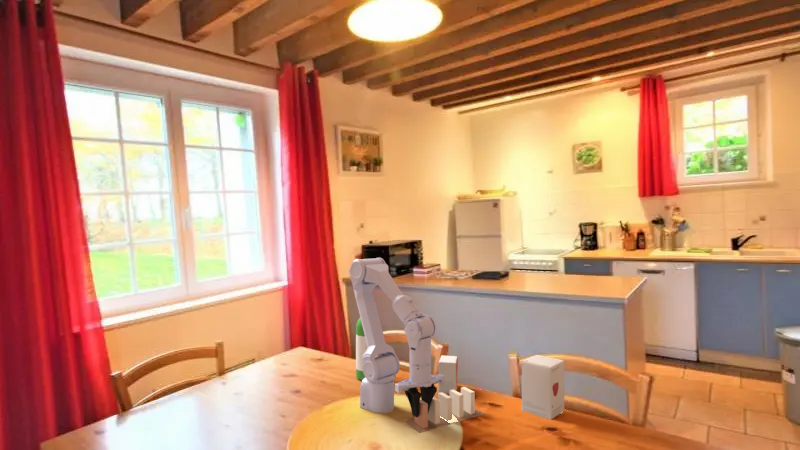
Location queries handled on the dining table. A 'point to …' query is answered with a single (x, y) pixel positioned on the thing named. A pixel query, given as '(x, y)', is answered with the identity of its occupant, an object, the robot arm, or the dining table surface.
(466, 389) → the domino
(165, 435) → the dining table surface
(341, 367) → the dining table surface
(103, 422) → the dining table surface
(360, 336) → the wine bottle
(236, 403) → the dining table surface
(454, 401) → the domino
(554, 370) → the supplement box
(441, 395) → the domino
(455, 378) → the small box
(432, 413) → the domino
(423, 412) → the domino
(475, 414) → the board
